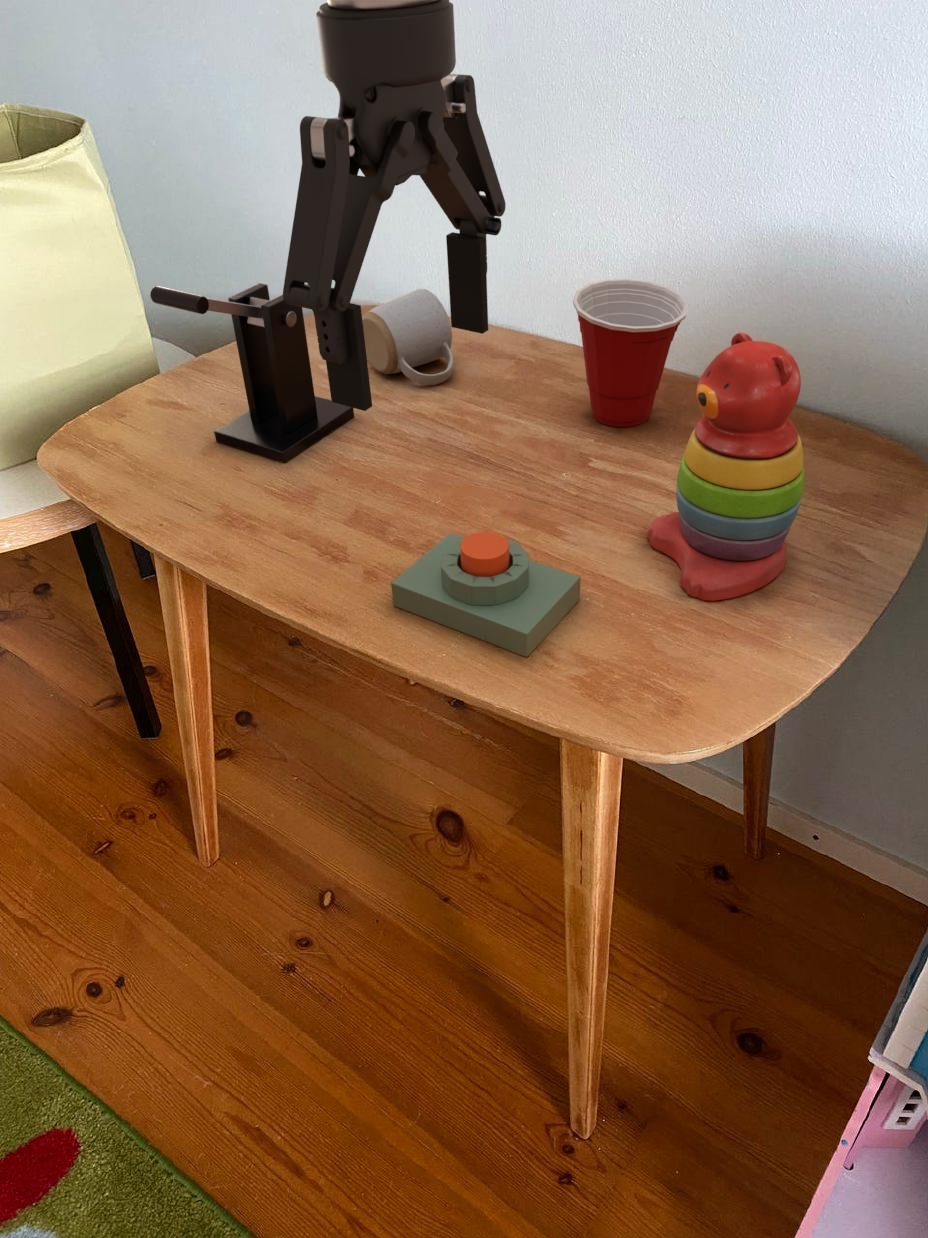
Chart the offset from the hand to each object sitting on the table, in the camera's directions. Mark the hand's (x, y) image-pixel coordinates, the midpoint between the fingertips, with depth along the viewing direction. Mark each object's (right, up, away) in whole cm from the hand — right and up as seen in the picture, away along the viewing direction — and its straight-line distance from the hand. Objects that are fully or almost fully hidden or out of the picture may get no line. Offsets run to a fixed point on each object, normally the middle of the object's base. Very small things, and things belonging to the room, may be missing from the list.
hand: (414, 364), depth 67 cm
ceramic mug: (-2, +11, +43) cm, 45 cm away
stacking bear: (+24, -12, +13) cm, 30 cm away
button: (+5, -13, +7) cm, 16 cm away
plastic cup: (+19, +3, +33) cm, 38 cm away
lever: (-18, +9, +21) cm, 30 cm away
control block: (+5, -16, +9) cm, 19 cm away
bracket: (-15, +2, +33) cm, 36 cm away
